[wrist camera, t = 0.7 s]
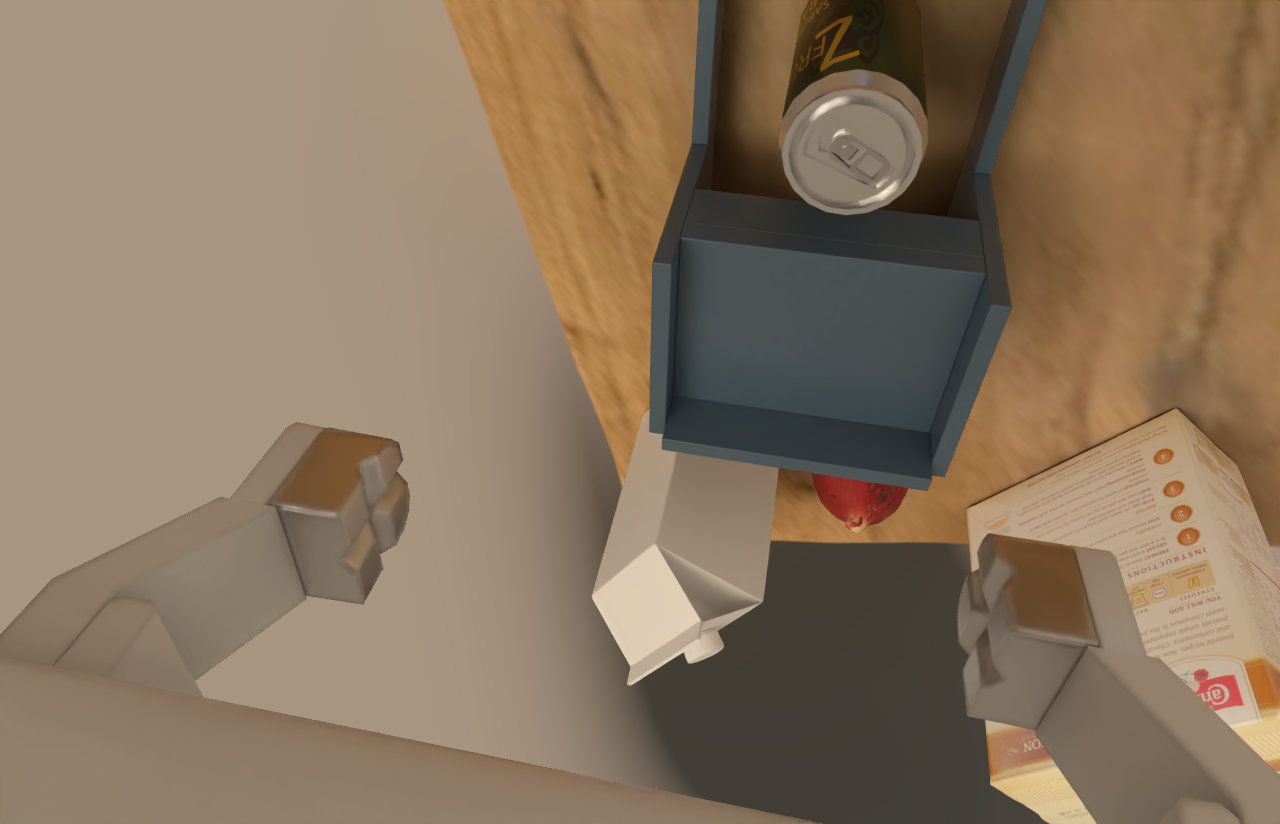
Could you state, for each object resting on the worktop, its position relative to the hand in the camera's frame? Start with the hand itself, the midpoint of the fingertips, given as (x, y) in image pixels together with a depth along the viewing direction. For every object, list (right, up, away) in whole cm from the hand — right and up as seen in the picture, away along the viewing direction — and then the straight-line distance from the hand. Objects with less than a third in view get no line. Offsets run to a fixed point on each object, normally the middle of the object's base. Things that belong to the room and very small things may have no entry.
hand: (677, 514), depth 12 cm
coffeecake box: (+29, -3, +44) cm, 53 cm away
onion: (+14, 0, +45) cm, 47 cm away
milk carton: (+4, +2, +47) cm, 47 cm away
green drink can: (+10, +19, +27) cm, 35 cm away
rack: (+9, +15, +31) cm, 36 cm away
